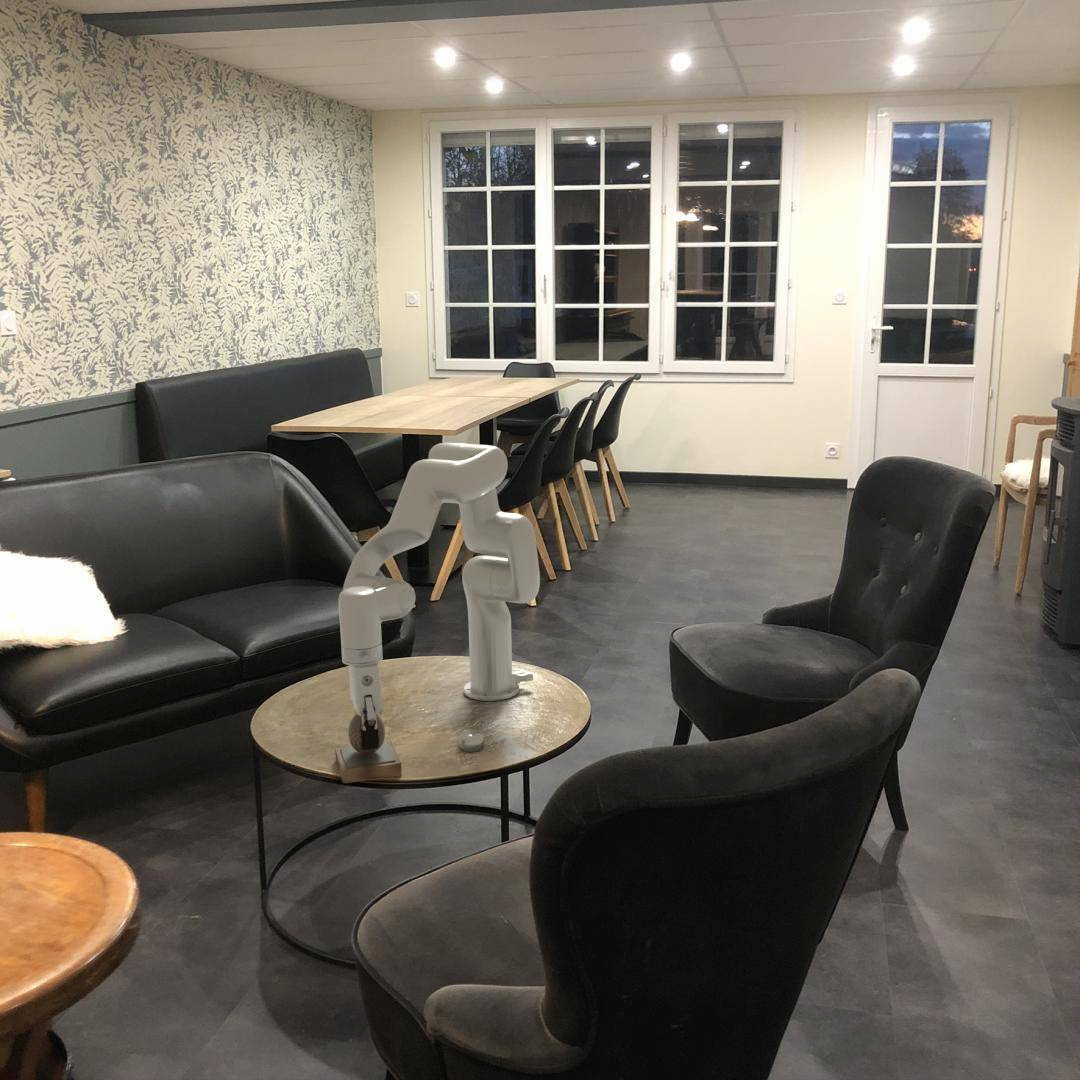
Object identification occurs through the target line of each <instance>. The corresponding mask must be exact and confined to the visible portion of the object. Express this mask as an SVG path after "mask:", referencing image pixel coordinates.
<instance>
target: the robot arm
mask: <svg viewBox="0 0 1080 1080" xmlns="http://www.w3.org/2000/svg"><path fill="white" fill-rule="evenodd" d="M508 464H509V463H508V459H507V456H506V454H505V451H503V449H501V448H500V447H498V446H495V445H491V444H490V445H489V444H476V443H464V442H442V443H441V442H440V443H437V444H435V445H433V446H432V447H431V448H430V450H429V452H428V458H426V459H425V458H424V459H421V460H418V461H416V462H414V463H413V464H412V465H411V466H410V468H409V470H408V471H407V474H406V477H405V480H404V482H403V485H402V488H401V490H400V493H399V495H398V499H397V502H396V504H395V506H394V509H393V511H392V514H391V517H390V519H389V522H388V523H387V525H385V526H384V527H383V528H382V529H380V530H379V531H378V532H377V533H375V534H374V535H373V536H371V538H369V539H368V541H366V542H365V543H364V544H363V545H362V546H361V547H360V549H359V550H358V551H357V552H356V554H355V555H354V558H352V561H351V564H350V566H349V569H348V572H347V574H346V578H345V580H344V583H343V586H342V591H341V592H340V593H339V595H338V612H339V614H338V615H339V626H340V627H339V629H340V644H341V645H340V646H341V658H342V659H341V661H342V663H343V664H344V665H346V666H348V679H349V691H350V698H351V701H352V704H353V707H354V712H355V713H354V714H356V713H357V714H358V715H359V716H361V723H362V729H361V745H362V750H369V749H376V748H379V737H378V727H377V720H376V713H377V714H380V715H381V714H383V712H384V704H383V694H382V684H381V683H382V682H381V675H380V667H379V663H380V662H382V661H383V660H384V659H383V644H382V643H383V641H382V625H381V624H382V623H383V622H387V621H392V620H397V619H400V618H401V619H402V618H403V617H405V616H407V614H409V613H410V612H411V611H412V610H413V608H414V605H415V602H416V592H415V589H414V588H413V586H412V585H411V584H410V583H408V582H406V581H405V580H401V579H397V578H390V577H384V576H379V575H378V576H377V572H378V571H379V569H380V568H381V566H383V564H384V563H386V562H387V561H388V560H389V559H391V558H392V557H394V556H395V555H398V554H400V553H403V552H405V551H409V550H411V549H413V548H415V547H418V546H421V545H423V544H425V543H426V542H428V540H429V539H430V538H431V535H432V532H433V529H434V527H435V524H436V522H437V518H438V515H439V512H440V511H441V507H442V505H443V504H444V503H445V504H446V503H447V504H448V503H449V504H458V508H459V514H460V523H461V529H462V536H463V539H464V541H463V542H464V544H465V546H466V548H467V549H468V550H469V551H471V552H473V553H477V554H482V555H477V556H473V557H472V558H470V559H468V560H467V562H466V563H465V564H464V567H462V569H463V570H462V575H461V577H462V586H463V591H464V595H465V598H466V605H467V618H468V620H467V621H468V643H469V644H468V645H469V646H468V649H469V651H468V653H469V674H470V675H469V677H470V679H469V680H470V681H469V682H467V683H466V684H464V686H463V694H464V695H465V696H466V697H468V698H470V699H473V700H477V701H483V702H494V701H502V700H507V699H511V698H513V697H514V696H516V695H518V694H519V692H520V684H521V682H532V681H534V675H533V673H532V672H525V670H521V671H520V670H519V671H514V670H513V659H512V657H513V653H512V652H513V651H512V650H513V649H512V646H513V645H512V617H511V612H510V610H509V607H508V605H507V604H506V602H507V603H508V602H509V603H515V604H528V603H531V602H532V601H534V600H535V599H536V597H537V595H538V594H539V590H540V583H541V582H540V581H541V576H540V575H541V574H540V566H539V564H540V563H539V558H538V557H539V556H538V546H537V541H536V540H537V538H536V534H535V533H536V532H535V528H534V526H533V524H532V522H531V521H530V519H529V518H528V517H527V516H525V515H523V514H520V513H513V512H505V511H502V510H501V509H500V506H499V500H498V492H497V489H496V488H497V487H498V486H500V485H501V483H502V482H503V481H504V479H505V477H506V475H507V474H508V473H507V471H508V466H509V465H508ZM363 711H366V712H367V713H365V714H363ZM364 717H367V720H366V721H365V719H364Z"/></svg>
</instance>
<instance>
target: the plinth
mask: <svg viewBox="0 0 1080 1080" xmlns="http://www.w3.org/2000/svg"><path fill="white" fill-rule="evenodd" d="M334 753H335V754H334V755H335V762H336V765H337V766H336V767H338V768H337V769H338V771H339V774H340V779H341V781H342V784H343V783H345V784H351V783H355V782H356V783H357V782H364V781H365V782H366V781H371V780H379V779H385V778H392V777H399V775H400V776H402V773H403V772H402V761H401V759H400V757H399V756H398V754H397V751H396V749H395V747H394V744H393V743H392V741H391V740H389V741H384V742H383V744H382V746H381V747H380V748H379V749H378V750H377V751H376V752H374V753H370V754H362V753H359V752H357V751H356V750H355V749H354V748H353V747H352V745H351V746H350V745H349V746H345V747H336V748H335V749H334Z"/></svg>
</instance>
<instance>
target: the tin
mask: <svg viewBox="0 0 1080 1080" xmlns="http://www.w3.org/2000/svg"><path fill="white" fill-rule="evenodd" d="M457 741H458V743H457V744H458V751H460V752H462V753H463V754H475V753H479V752H482V751H483V750H484V748H485V747H484V746H485V745H484V742H485V741H484V733H483V731H481V730H478V729H465V730H462V731H460V732H458V734H457Z"/></svg>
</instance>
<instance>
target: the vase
mask: <svg viewBox="0 0 1080 1080" xmlns="http://www.w3.org/2000/svg"><path fill="white" fill-rule="evenodd" d="M365 713H367V712H366V711H363V714H365ZM364 719H365V721H366V720H367V717H364ZM376 720H377V727H378V737H379V748H380V747H381V746H382V744H383V742H385V741H384V740H385V737H386V729H385V725H384V721H383V719H382V718H381V716H380V715H379V713H377V712H376ZM361 729H362V723H361V716H359V715H358V714H357V713H354V716H353V717H352V718H351V719H350V722H349V725H348V731H347V732H348V740H349V743H350V745H351V746H352V747H353V748H354V749H355V750H356V751H357V752H359V753H362V754H370V753H374V752H376V751H377V750H378V749H379V748H376V749H369V750H362V745H361Z"/></svg>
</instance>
